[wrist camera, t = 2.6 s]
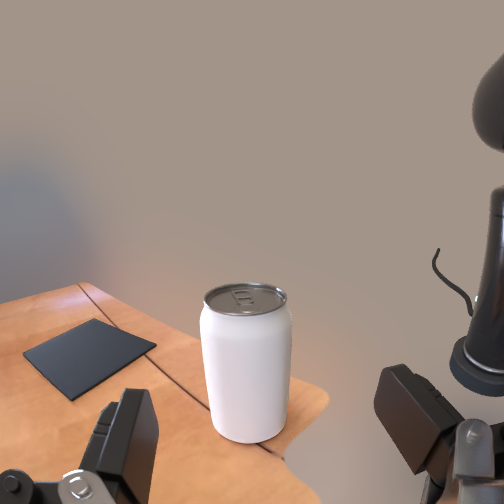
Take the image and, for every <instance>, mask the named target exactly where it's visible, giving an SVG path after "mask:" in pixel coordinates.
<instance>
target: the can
mask: <svg viewBox="0 0 504 504" xmlns="http://www.w3.org/2000/svg"><path fill="white" fill-rule="evenodd" d="M286 301H287V295H286V293H285V292H284V291H283V290H281V289H280V288H278V287H276V286H273V285H269V284H264V283H255V282H239V283H231V284H226V285H222V286H219V287H216V288H214V289H212V290H210V291H209V292H207V293H206V294H205V296H204V304H205V306H204V309H203V311H202V313H201V316H200V333H201V342H202V351H203V360H204V368H205V376H206V383H207V390H208V397H209V404H210V410H211V416H212V421H213V424H214V427H215V428H216V430H217V431H218V432H219V433H220V434H221V435H222V436H224V437H225V438H227V439H229V440H232V441H235V442H239V443H245V444H252V443H258V442H262V441H265V440H268V439H270V438H272V437H274V436H276V435H277V434H278V433H279V432H280V431H281V430H282V429H283V427H284V426H285V423H286V419H287V410H288V397H289V382H290V365H291V346H292V315H291V312H290V310H289V308H288V306H287V304H286Z"/></svg>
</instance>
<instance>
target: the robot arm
mask: <svg viewBox="0 0 504 504" xmlns="http://www.w3.org/2000/svg"><path fill="white" fill-rule="evenodd" d="M472 119H473V124H474V128H475V130H476V132H477V134H478V136H479V137H480V138H481V140H482V141H483V142H484V143H485V144H486V145H487V146H489V147H490V148H492V149H494V150H496V151H499V152H501V153H504V53H503V54H502V55H501V56H500V57H499V59H497V61H496V62H495V63H494V64H493V65H492V66H491V67H490V68H489V69H488V71H487V72H486V73H485V74H484V76H483V77H482V78H481V80H480V83H479V84H478V86H477V88H476V91H475V94H474V98H473V104H472ZM489 211H490V213H489V224H488V234H487V244H486V252H485V258H484V265H483V270H482V276H481V281H480V286H479V291H478V296H477V297H476V302H475V307H474V311H473V309H472V304H471V300H470V298H469V296H468V295H467V294H466V293H465V292H464V291H463V290H462V289H460V288H459V287H457V286H456V285H454V284H453V283H451V282H450V281H449V280H448V279H447V278H445V277H444V276H443V275H442V274H441V273H440V272H439V271H438V269H437V267H436V264H435V263H436V259H437V257H438V254H439V252H440V249H439V248H438V249H437V252H436V254H435V256H434V258H433V260H432V267H433V270H434V271H435V273H436V274H437V275H438V277H439V278H440V279H442V281H443V282H445V283H446V284H447V285H448V286H449V287H450V288H452V289H453V290H455V291H456V292H458V293H459V294H460V295H461V296H462V297H463V298H464V299H465V301H466V304H467V309H468V313H469V315H470V316H471V317H472V320H471V324H470V327H469V331H468V334H467V338H466V340H465V342H464V345H463V349H462V352H463V355H464V357H465V359H466V360H467V361H468V362H469V363H470V364H471V365H472V366H473V367H475V368H476V369H478V370H480V371H482V372H484V373H487V374H491V375H496V376H504V185H502V186H499V187H496V188H495V189H493V190H492V192H491V196H490V210H489ZM441 395H442V394H441V393H440V392H439V391H438V390H436V389H435V387H434V386H433V385H432V384H431V383H430V382H429V381H428V380H427V379H426V378H424V377H422V376H420V375H418V374H413V373H412V372H411V370H410V369H409V368H408V367H407V366H406V365H404V364H399V365H395V366H391V367H387V368H384V369H383V370H382V372H381V376H380V379H379V384H378V387H377V391H376V394H375V398H374V409H375V413H376V415H377V417H378V418H379V420H380V421H381V423H382V424H383V426H384V427H385V429H386V431H387V432H388V434H389V435H390V437H391V438H392V440H393V441H394V443H395V444H396V446H397V448H398V449H399V451H400V453H401V454H402V456H403V457H404V459H405V461H406V462H407V464H408V465H409V467H410V468H411V470H412V472H413V473H414V475H416V474H418V473H421V472H423V471H425V470H427V472H428V473H429V474H428V475H427V477H426V480H425V485H424V490H423V495H422V499H421V503H420V504H504V422H502V423H498V424H495V425H490V426H489V425H488V424H487V423H485V422H483V421H482V420H479V419H467V420H465V419H464V418H463V417H462V416H461V414H460V413H459V412H458V411H457V410H456V409H455V408H454V407H453V406H452V405H451V404H450V403H449V402H448V401H447V400H446V399H445V398H444V396H441ZM158 437H159V427H158V421H157V417H156V414H155V411H154V407H153V404H152V400H151V397H150V393H149V391H148V390H147V389H130V388H126V389H124V391H123V394H122V396H121V399H120V401H119V402H111V403H110V404H109V405H107V406H106V407H105V408H104V409H103V410H102V411H101V414H100V416H99V419H98V421H97V425H96V426H95V428H94V431H93V434H92V436H91V438H90V441H89V443H88V446H87V448H86V451H85V453H84V456H83V459H82V461H81V464H80V466H79V469H78V470H76V471H72V472H70V473H68V474H66V475H65V476H64V477H63V478H62V479H61V480H60V481H57V482H45V481H33V480H32V479H31V478H30V477H29V475H28V474H26V473H25V472H24V471H21V470H18V469H9V470H6V471H4V472H3V473H1V474H0V504H148V499H149V492H150V485H151V479H152V472H153V466H154V460H155V454H156V448H157V443H158Z"/></svg>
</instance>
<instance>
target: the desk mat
mask: <svg viewBox="0 0 504 504" xmlns="http://www.w3.org/2000/svg"><path fill="white" fill-rule="evenodd" d="M155 346H157V345H156V344H155V343H153V342H150V341H147V340H145V339H142V338H140V337H137V336H135V335H132V334H130V333H127V332H125V331H122V330H120V329H118V328H115V327H113V326H111V325H108V324H106V323H104V322H101V321H99V320H97V319H95V318H94V319H92V320H90V321H87V322H85V323H83V324H81V325H79V326H77V327H75V328H73V329H71V330H69V331H67V332H65V333H63V334H61V335H59V336H57V337H55V338H52V339H50V340H48V341H46V342H44V343H42V344H40V345H38V346H36V347H34V348H32V349H30V350H28V351H26V352H24V353H23V355H24V356H25V357H26V358H27V359H28V360H29V362H30V363H31V364H32V365H33V366H34V367H35V368H36V369H37V370H38V371H39V372H40V373H41V374H42V375H43V376H44V377H46V378H47V379H48V380H49V381H50V382H51V383H52V384H53V385H54V386H55V387H56V388H57V389H58V390H60V391H61V392H62V393H63V394H64V395H65V396H66V397H68V398H69V399H70V400H71V401H73V400H75V399H76V398H78V397H80V396H81V395H83V394H84V393H86V392H87V391H89V390H90V389H92V388H93V387H95V386H97V385H98V384H100V383H101V382H103V381H104V380H106V379H107V378H109V377H110V376H112V375H113V374H115V373H116V372H118V371H119V370H121V369H122V368H124V367H126V366H127V365H129V364H130V363H132V362H133V361H135V360H136V359H138V358H139V357H141V356H142V355H144V354H145V353H147V352H148V351H149V350H151V349H152V348H154V347H155Z"/></svg>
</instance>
